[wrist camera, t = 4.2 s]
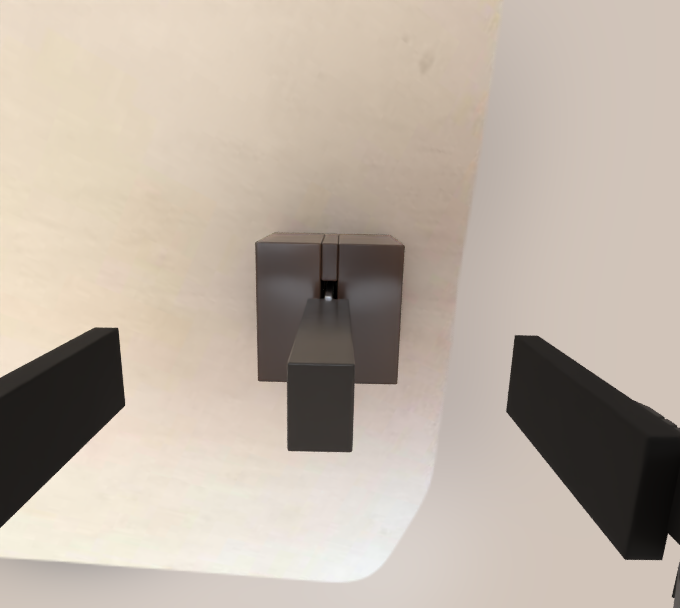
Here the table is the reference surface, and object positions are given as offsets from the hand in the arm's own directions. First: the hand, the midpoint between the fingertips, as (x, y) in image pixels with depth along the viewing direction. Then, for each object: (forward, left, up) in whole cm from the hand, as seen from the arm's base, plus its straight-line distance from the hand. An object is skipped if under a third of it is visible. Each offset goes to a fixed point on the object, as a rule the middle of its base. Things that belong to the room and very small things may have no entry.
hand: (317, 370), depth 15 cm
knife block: (0, 0, -13) cm, 13 cm away
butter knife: (0, 0, -13) cm, 13 cm away
